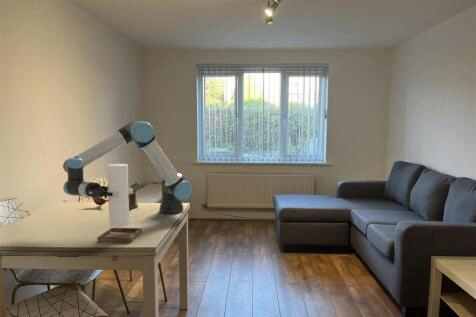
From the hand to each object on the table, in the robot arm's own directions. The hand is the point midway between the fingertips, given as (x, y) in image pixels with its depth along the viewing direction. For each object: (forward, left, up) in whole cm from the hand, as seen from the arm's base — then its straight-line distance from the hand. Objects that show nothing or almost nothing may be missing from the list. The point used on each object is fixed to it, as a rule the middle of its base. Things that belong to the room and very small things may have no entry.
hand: (125, 192), depth 178 cm
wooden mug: (-30, -59, -23) cm, 70 cm away
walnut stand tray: (+2, -4, -23) cm, 23 cm away
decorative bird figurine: (-15, -74, -23) cm, 79 cm away
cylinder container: (+2, -4, -16) cm, 17 cm away
